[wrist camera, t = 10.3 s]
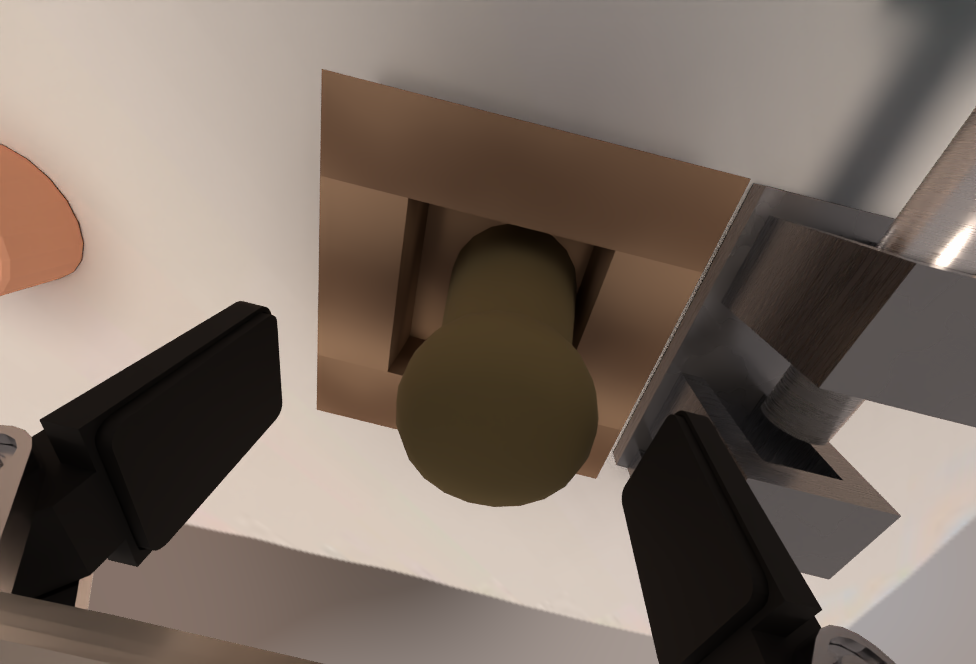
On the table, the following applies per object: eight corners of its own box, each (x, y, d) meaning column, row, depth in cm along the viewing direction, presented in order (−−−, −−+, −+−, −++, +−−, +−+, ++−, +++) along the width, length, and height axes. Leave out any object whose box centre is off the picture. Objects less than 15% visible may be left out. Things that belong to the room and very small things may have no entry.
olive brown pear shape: (601, 300, 18) (681, 490, 8) (500, 362, 20) (470, 570, 10) (527, 193, 16) (520, 277, 7) (425, 273, 18) (304, 426, 9)
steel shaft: (1032, -163, 10) (1450, -415, 5) (1218, -113, 10) (1786, -321, 5) (708, 374, 18) (767, 453, 13) (812, 400, 18) (906, 488, 13)
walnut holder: (374, 86, 16) (321, 69, 12) (696, 168, 16) (750, 178, 12) (355, 361, 22) (316, 409, 18) (584, 418, 23) (595, 478, 19)
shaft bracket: (753, 183, 16) (919, 217, 9) (912, 224, 16) (1196, 288, 9) (613, 452, 24) (646, 583, 17) (722, 479, 24) (801, 621, 17)
